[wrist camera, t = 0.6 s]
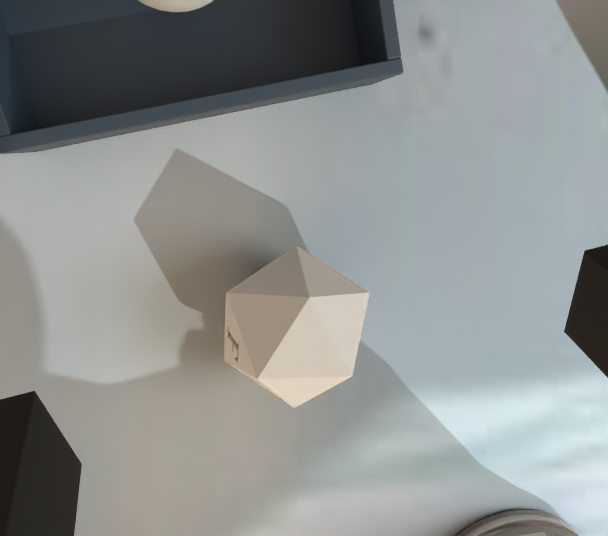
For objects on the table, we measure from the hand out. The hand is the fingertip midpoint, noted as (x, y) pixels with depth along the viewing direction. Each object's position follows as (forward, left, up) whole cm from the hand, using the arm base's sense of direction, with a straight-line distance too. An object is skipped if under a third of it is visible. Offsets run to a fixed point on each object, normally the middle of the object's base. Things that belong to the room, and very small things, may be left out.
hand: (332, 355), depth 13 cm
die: (-6, -1, -23) cm, 24 cm away
